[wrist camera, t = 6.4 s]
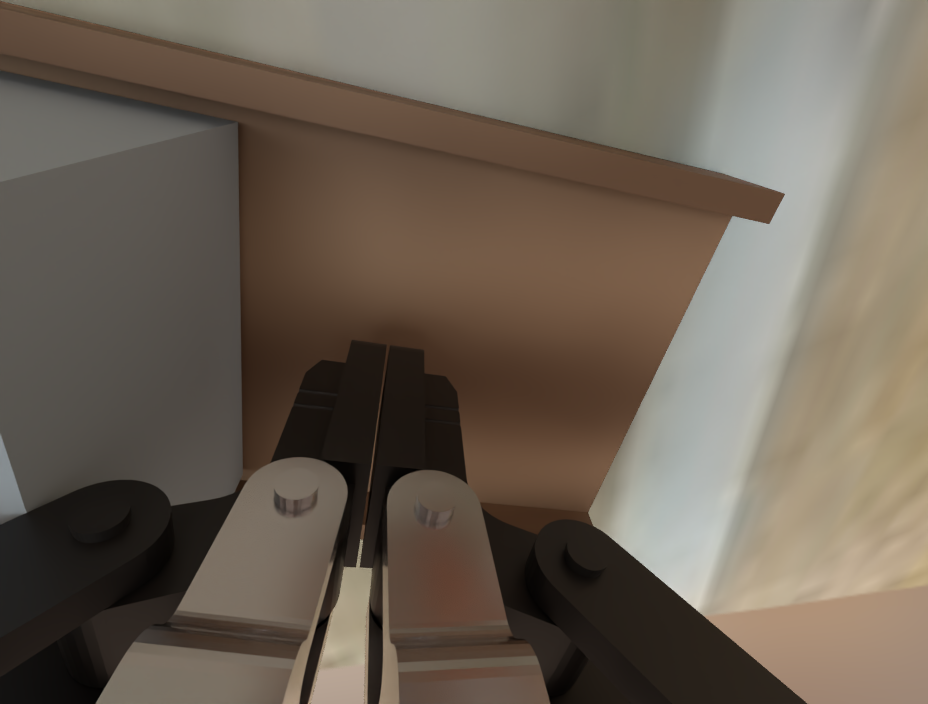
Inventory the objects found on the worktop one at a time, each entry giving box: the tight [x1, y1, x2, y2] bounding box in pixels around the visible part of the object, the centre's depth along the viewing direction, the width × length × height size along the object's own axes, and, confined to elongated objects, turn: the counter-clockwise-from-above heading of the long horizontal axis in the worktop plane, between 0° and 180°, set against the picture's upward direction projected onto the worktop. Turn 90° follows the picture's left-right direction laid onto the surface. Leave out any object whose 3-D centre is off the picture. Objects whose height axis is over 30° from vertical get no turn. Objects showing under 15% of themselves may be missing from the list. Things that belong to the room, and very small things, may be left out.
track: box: [0, 1, 785, 539], centre depth 9 cm, size 11×24×7 cm, turn 78°
